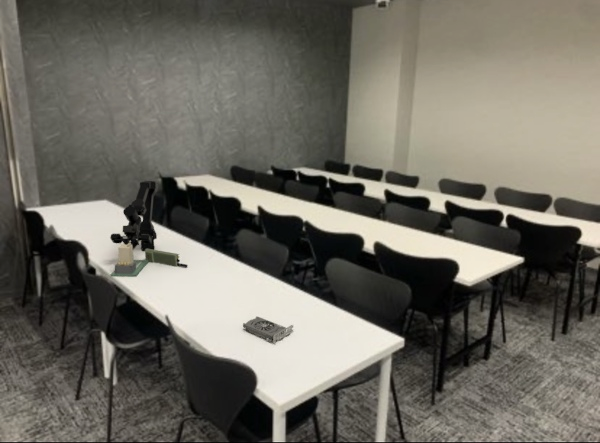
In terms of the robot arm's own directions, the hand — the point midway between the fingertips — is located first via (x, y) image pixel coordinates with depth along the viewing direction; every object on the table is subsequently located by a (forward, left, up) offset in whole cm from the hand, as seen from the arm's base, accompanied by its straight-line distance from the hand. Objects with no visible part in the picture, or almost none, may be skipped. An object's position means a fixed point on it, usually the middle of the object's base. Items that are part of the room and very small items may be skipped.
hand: (128, 254), depth 223 cm
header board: (0, -2, -8) cm, 8 cm away
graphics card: (-53, +75, -9) cm, 92 cm away
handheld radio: (-18, -5, -9) cm, 20 cm away
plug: (+1, +3, -7) cm, 8 cm away
